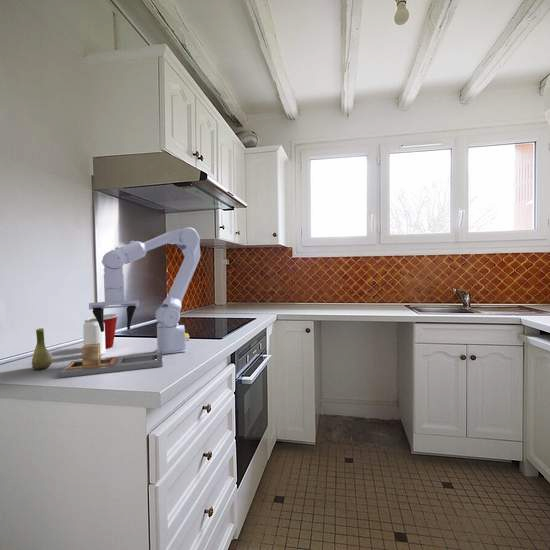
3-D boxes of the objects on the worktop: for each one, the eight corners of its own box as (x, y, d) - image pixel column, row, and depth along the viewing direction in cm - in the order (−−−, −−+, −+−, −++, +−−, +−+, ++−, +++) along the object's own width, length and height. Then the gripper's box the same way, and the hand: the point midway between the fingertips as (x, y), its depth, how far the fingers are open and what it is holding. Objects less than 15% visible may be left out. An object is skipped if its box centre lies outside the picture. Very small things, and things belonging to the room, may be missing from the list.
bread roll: (174, 344, 129) (174, 333, 129) (164, 340, 136) (164, 331, 136) (193, 340, 135) (193, 330, 135) (183, 337, 142) (182, 328, 142)
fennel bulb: (37, 366, 102) (36, 327, 102) (55, 364, 103) (54, 326, 103) (28, 371, 96) (26, 330, 96) (47, 370, 97) (45, 329, 97)
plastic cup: (84, 347, 126) (83, 315, 126) (115, 342, 133) (113, 312, 133) (91, 352, 118) (89, 318, 118) (123, 347, 125) (122, 315, 125)
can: (96, 357, 111) (95, 321, 111) (79, 356, 112) (78, 321, 112) (109, 352, 117) (108, 318, 117) (93, 352, 119) (92, 318, 118)
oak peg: (100, 366, 100) (100, 343, 100) (98, 370, 96) (97, 346, 96) (85, 368, 99) (85, 344, 99) (82, 371, 95) (81, 347, 95)
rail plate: (162, 356, 110) (162, 351, 109) (162, 366, 98) (162, 360, 98) (72, 365, 101) (71, 360, 101) (60, 377, 90) (60, 371, 90)
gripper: (86, 289, 101) (87, 334, 102) (137, 287, 106) (139, 330, 106) (90, 288, 108) (92, 330, 108) (139, 286, 113) (140, 326, 113)
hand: (115, 330), depth 108 cm, fingers open, 7 cm apart
